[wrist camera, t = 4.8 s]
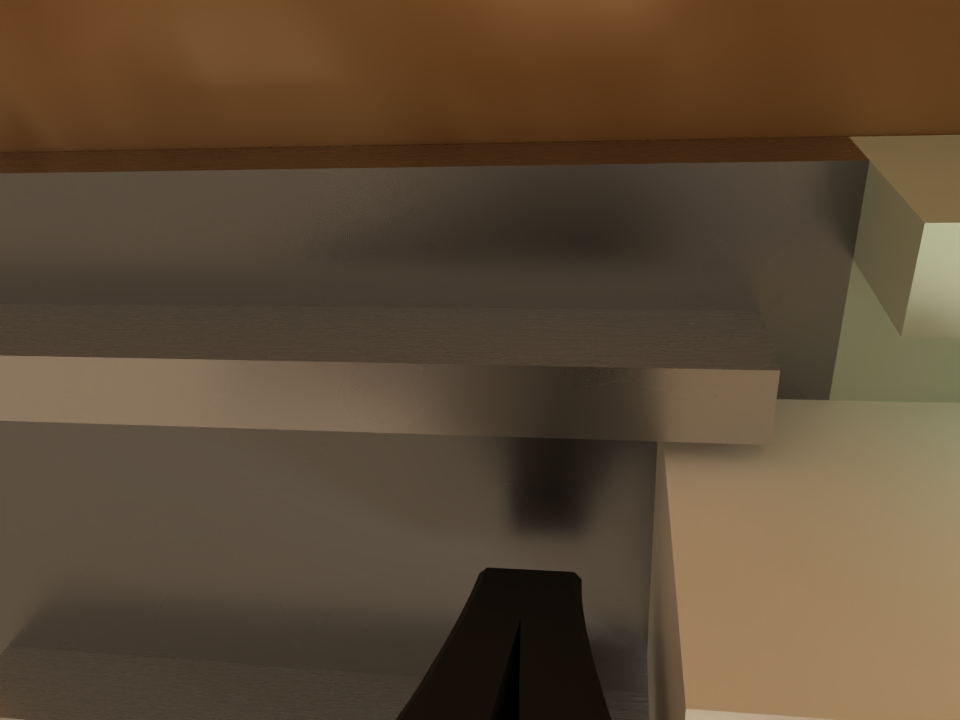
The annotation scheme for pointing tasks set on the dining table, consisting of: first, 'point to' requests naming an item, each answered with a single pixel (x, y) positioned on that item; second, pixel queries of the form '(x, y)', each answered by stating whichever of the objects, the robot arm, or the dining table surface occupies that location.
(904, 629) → the beige cardboard box
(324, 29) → the dining table surface
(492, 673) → the robot arm
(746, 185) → the dock
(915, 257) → the tray
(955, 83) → the dining table surface
